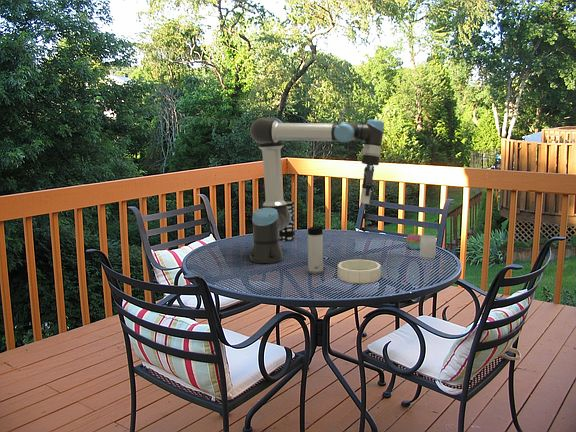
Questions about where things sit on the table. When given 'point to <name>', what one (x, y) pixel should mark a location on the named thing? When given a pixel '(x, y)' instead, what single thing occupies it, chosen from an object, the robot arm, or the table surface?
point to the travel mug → (315, 249)
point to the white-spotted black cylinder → (288, 226)
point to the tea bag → (428, 246)
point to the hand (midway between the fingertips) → (364, 203)
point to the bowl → (359, 271)
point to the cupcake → (414, 240)
